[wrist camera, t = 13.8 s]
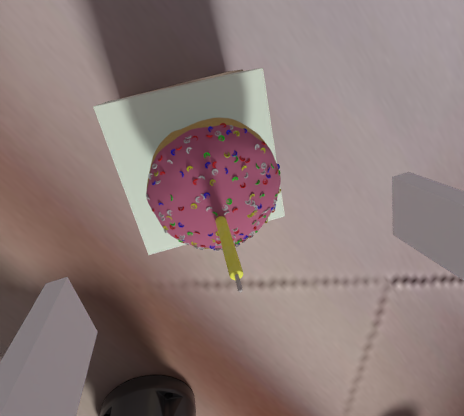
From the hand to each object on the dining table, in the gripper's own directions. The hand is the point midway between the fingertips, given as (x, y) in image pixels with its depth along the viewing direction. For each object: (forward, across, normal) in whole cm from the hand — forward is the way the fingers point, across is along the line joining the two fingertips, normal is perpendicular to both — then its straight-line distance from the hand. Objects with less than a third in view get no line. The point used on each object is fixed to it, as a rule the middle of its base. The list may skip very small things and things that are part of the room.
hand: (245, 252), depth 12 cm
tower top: (+19, 0, 0) cm, 19 cm away
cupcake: (+13, 0, 0) cm, 13 cm away
